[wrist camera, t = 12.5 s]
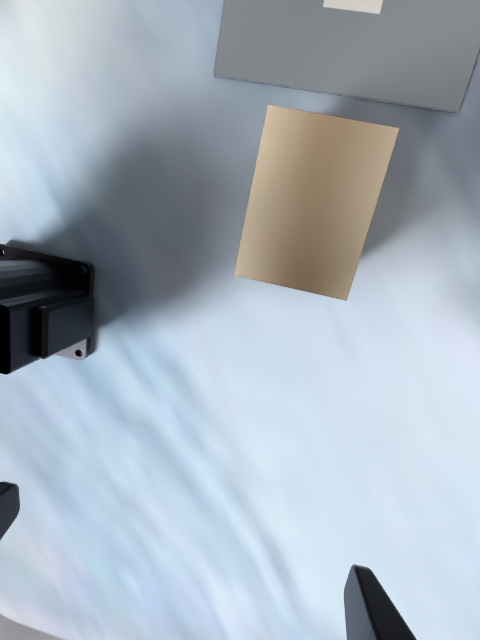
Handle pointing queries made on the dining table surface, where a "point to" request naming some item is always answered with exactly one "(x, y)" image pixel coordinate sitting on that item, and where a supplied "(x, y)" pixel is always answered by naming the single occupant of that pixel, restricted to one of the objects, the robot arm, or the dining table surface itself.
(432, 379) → the dining table surface
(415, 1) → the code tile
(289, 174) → the maple block
